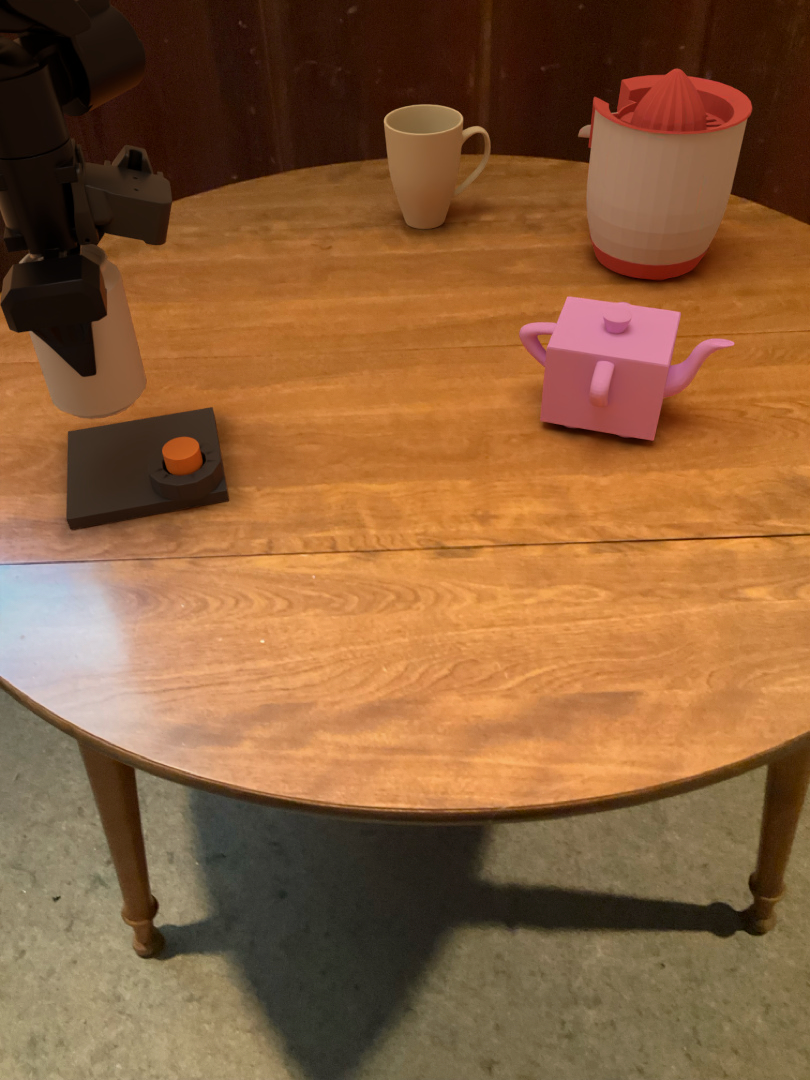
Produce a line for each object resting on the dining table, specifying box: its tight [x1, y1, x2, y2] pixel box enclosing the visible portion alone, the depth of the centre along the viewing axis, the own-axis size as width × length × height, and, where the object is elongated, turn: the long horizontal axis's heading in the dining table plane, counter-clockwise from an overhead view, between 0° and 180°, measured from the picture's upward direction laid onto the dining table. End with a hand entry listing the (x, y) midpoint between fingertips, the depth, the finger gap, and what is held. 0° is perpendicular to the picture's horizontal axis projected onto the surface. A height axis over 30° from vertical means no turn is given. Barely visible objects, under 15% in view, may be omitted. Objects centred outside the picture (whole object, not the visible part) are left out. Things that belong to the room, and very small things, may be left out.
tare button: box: [162, 437, 203, 476], centre depth 76 cm, size 3×3×2 cm
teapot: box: [518, 296, 735, 442], centre depth 81 cm, size 18×14×10 cm
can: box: [18, 244, 147, 420], centre depth 70 cm, size 8×8×12 cm
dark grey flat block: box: [65, 406, 230, 530], centre depth 79 cm, size 13×12×3 cm
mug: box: [383, 104, 492, 230], centre depth 109 cm, size 11×10×12 cm
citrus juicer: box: [577, 68, 753, 281], centre depth 98 cm, size 16×17×20 cm
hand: (89, 347), depth 71 cm, fingers closed on can, 7 cm apart
